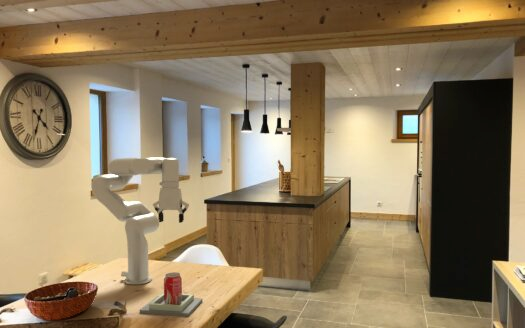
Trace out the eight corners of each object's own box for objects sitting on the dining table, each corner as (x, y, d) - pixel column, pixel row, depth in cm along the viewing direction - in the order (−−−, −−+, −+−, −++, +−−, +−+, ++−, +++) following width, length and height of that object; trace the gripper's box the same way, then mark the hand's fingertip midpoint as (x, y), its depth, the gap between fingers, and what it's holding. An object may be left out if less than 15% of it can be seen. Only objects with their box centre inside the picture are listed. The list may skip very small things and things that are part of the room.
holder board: (139, 313, 160) (139, 304, 160) (157, 298, 176) (157, 291, 176) (188, 316, 156) (188, 308, 156) (202, 301, 172) (202, 293, 172)
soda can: (165, 301, 169) (164, 272, 169) (182, 300, 170) (182, 271, 170) (163, 307, 162) (162, 277, 162) (181, 306, 163) (180, 276, 163)
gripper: (149, 185, 187) (149, 223, 188) (185, 185, 184) (185, 223, 184) (156, 184, 194) (157, 220, 195) (191, 184, 191) (191, 221, 192)
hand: (171, 222), depth 190 cm, fingers open, 9 cm apart
